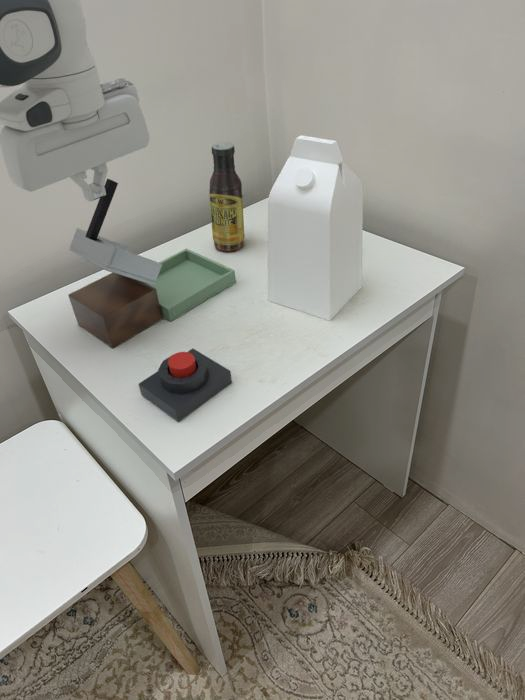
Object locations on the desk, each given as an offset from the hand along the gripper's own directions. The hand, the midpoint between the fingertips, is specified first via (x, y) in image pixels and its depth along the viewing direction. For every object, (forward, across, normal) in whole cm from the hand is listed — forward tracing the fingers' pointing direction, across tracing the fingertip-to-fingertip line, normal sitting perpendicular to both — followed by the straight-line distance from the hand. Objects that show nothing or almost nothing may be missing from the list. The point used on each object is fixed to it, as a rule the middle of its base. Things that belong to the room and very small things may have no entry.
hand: (96, 197), depth 78 cm
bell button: (+18, +5, +21) cm, 28 cm away
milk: (+22, -24, +20) cm, 38 cm away
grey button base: (+21, +6, +21) cm, 30 cm away
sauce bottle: (+22, -28, -4) cm, 35 cm away
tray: (+21, -11, 0) cm, 24 cm away
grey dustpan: (+11, +1, 0) cm, 11 cm away
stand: (+21, +2, 0) cm, 21 cm away
